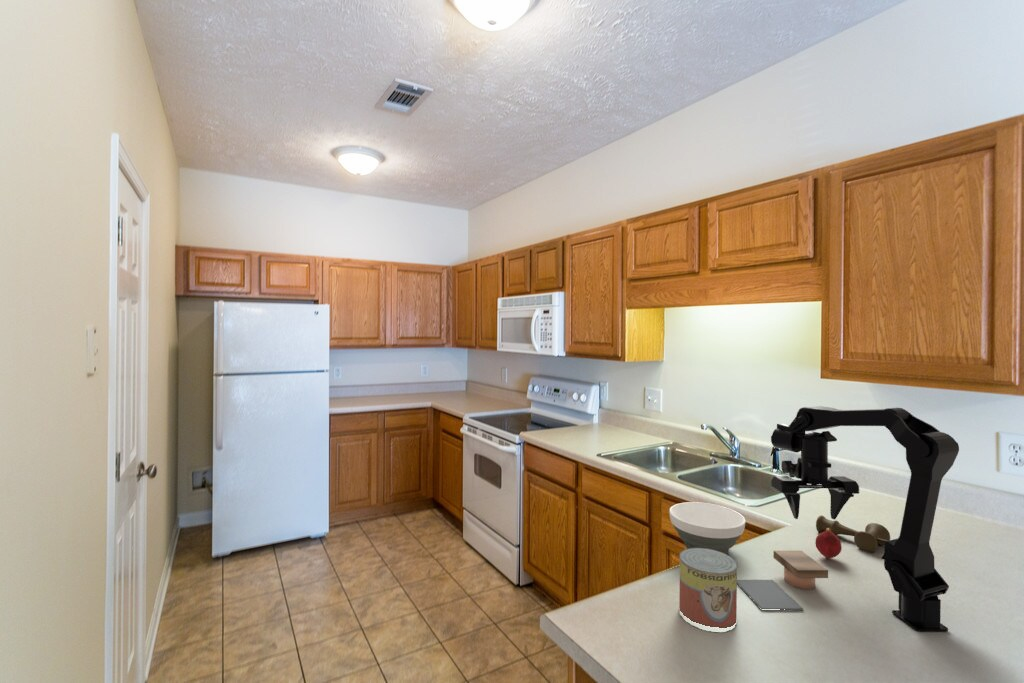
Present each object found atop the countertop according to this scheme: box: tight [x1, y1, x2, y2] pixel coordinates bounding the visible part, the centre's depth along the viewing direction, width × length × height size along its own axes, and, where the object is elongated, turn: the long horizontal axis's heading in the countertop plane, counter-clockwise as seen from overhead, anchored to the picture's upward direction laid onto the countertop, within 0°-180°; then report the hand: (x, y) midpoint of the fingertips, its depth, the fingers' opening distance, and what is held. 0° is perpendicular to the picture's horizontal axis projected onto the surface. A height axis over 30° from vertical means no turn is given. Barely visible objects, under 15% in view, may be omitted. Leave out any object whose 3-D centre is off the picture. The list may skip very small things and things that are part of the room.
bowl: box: [669, 501, 746, 555], centre depth 132 cm, size 20×20×10 cm
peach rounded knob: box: [783, 566, 816, 590], centre depth 114 cm, size 6×6×4 cm
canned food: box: [678, 548, 738, 628], centre depth 100 cm, size 11×11×12 cm
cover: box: [772, 550, 829, 579], centre depth 114 cm, size 10×7×2 cm
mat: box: [737, 579, 804, 611], centre depth 108 cm, size 12×9×1 cm
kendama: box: [815, 515, 891, 553], centre depth 136 cm, size 6×10×20 cm
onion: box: [814, 528, 843, 560], centre depth 126 cm, size 6×6×8 cm
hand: (814, 518), depth 119 cm, fingers open, 9 cm apart
